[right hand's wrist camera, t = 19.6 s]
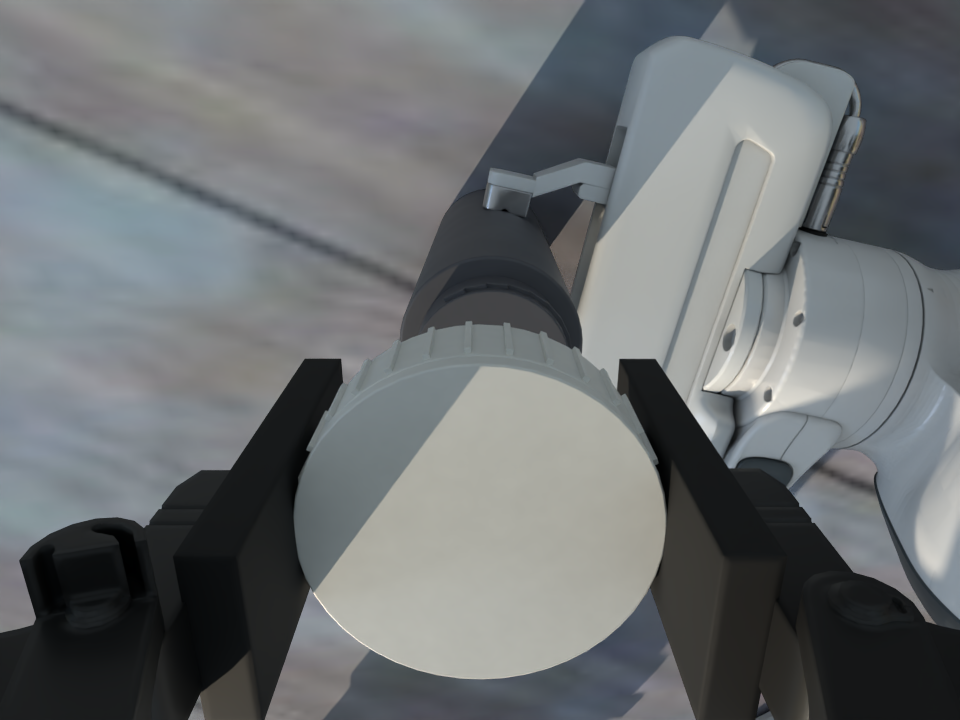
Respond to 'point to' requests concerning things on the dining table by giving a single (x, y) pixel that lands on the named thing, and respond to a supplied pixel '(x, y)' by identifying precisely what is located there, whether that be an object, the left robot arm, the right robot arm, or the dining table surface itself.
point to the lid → (480, 504)
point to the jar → (491, 276)
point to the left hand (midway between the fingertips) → (468, 267)
